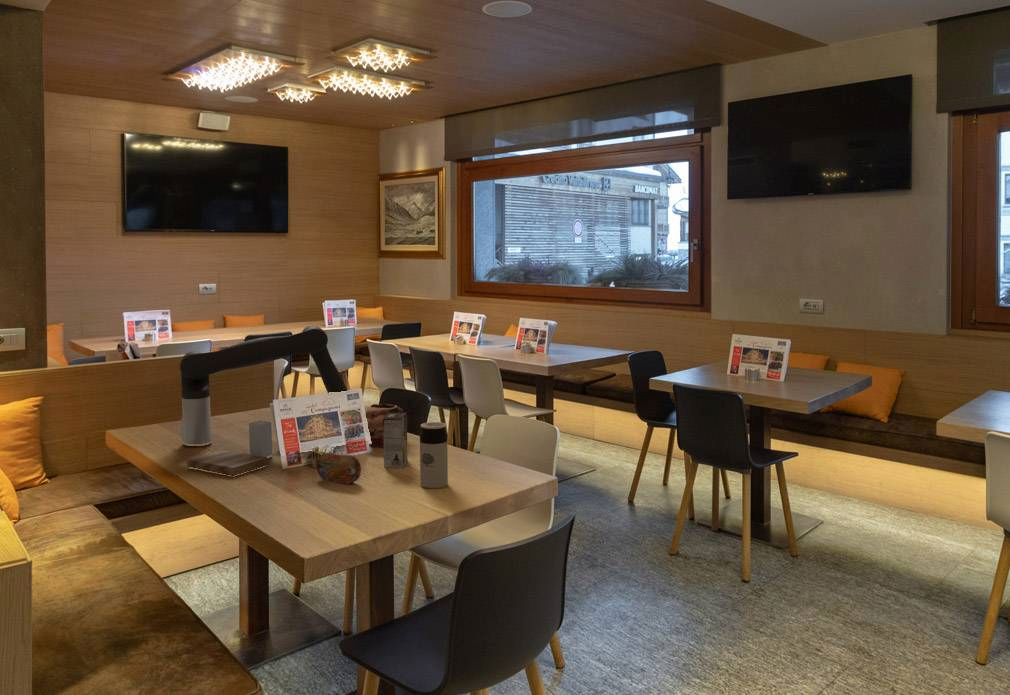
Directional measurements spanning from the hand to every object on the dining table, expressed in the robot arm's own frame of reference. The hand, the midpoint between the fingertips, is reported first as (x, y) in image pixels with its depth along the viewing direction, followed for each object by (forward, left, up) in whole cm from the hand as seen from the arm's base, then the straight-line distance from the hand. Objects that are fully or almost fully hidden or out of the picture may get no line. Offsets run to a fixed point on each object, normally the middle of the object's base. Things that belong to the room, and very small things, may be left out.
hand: (285, 430), depth 266 cm
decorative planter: (+23, +25, -8) cm, 35 cm away
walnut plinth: (0, -25, -7) cm, 26 cm away
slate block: (0, -11, -7) cm, 13 cm away
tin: (+41, -20, -8) cm, 46 cm away
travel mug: (+68, -10, -7) cm, 69 cm away
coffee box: (+44, +4, -8) cm, 45 cm away
